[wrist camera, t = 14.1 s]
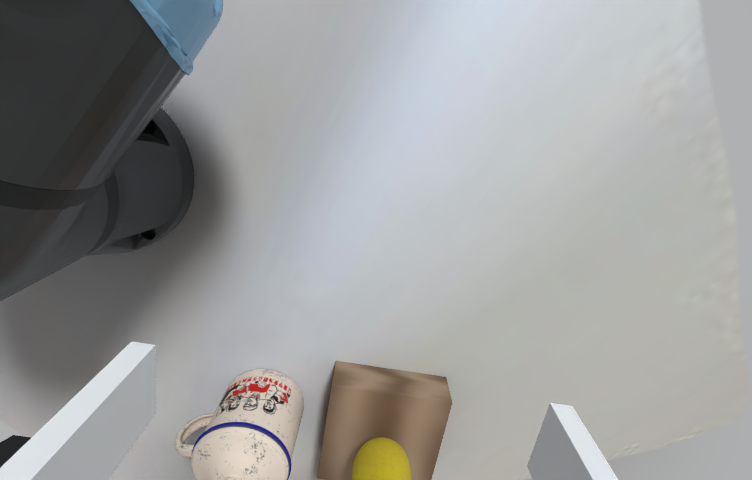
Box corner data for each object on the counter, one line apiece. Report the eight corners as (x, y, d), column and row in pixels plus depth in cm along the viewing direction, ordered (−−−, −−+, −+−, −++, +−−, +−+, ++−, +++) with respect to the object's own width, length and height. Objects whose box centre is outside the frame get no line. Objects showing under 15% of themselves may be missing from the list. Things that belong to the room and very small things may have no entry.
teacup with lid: (302, 364, 45) (277, 450, 34) (310, 432, 48) (288, 532, 37) (191, 366, 45) (130, 453, 34) (205, 434, 48) (153, 534, 37)
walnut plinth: (322, 448, 48) (317, 478, 45) (335, 361, 45) (331, 385, 41) (423, 462, 49) (427, 493, 45) (446, 377, 45) (452, 402, 41)
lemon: (378, 470, 44) (377, 547, 36) (343, 438, 43) (335, 511, 35) (419, 444, 43) (427, 518, 35) (384, 410, 42) (385, 479, 34)
